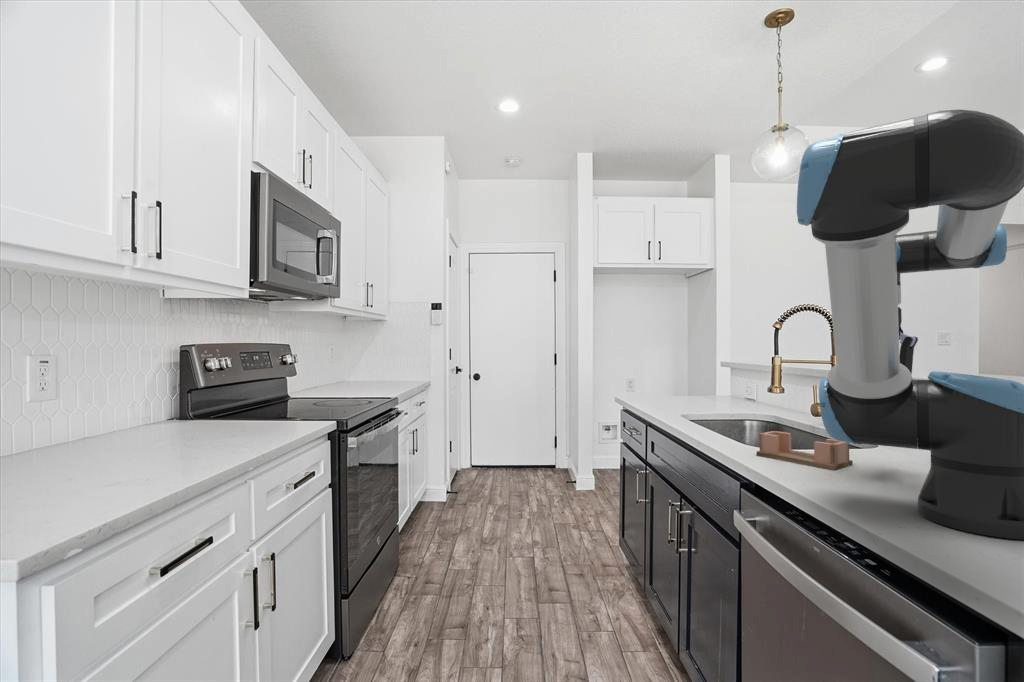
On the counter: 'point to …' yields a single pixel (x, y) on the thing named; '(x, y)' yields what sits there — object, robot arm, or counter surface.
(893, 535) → the counter surface
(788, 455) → the board
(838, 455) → the brown slotted stand
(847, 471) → the counter surface
